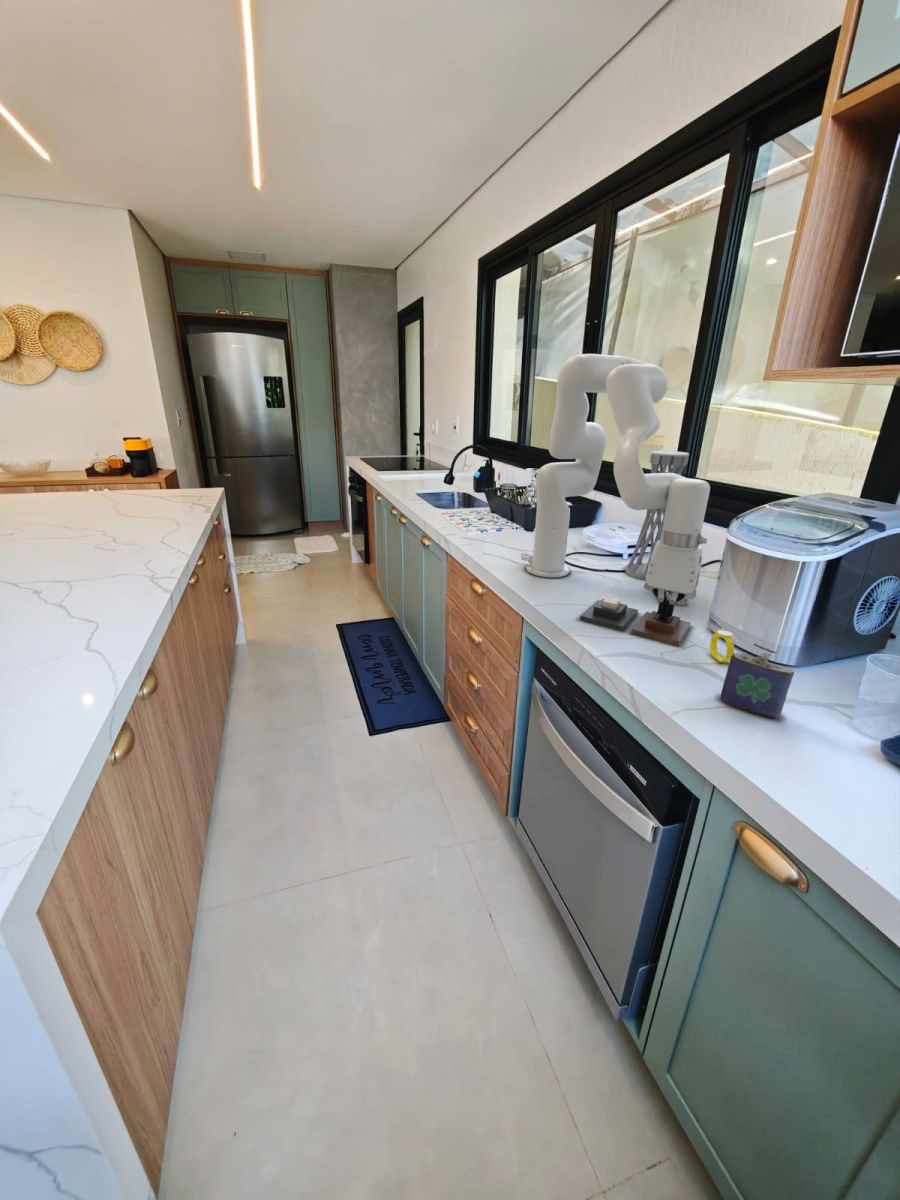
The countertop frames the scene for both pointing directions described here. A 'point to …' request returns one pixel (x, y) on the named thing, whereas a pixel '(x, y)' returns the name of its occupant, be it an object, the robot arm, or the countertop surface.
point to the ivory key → (611, 603)
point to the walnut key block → (661, 629)
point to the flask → (756, 685)
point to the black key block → (609, 615)
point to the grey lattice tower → (654, 510)
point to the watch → (729, 644)
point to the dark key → (662, 619)
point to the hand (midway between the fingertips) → (664, 617)
